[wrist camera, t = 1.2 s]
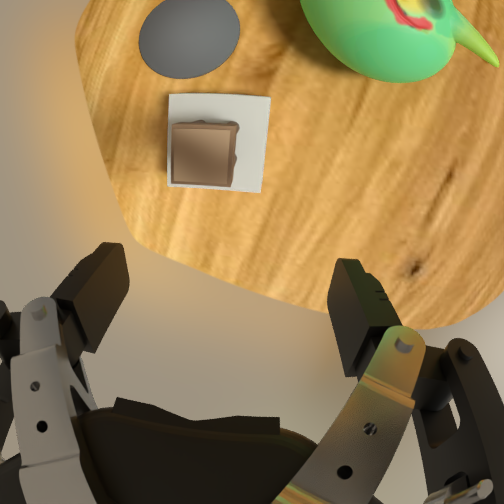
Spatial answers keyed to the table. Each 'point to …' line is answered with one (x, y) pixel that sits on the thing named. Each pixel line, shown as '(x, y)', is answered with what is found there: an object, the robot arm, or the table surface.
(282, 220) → the table surface
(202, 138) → the walnut stool
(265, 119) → the white square box
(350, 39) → the toy bird
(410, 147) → the table surface
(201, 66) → the charcoal felt mat
